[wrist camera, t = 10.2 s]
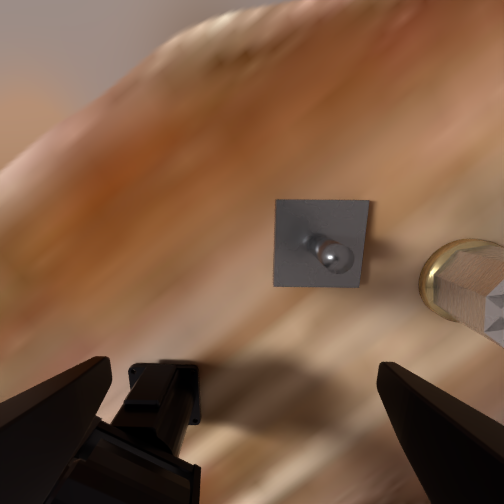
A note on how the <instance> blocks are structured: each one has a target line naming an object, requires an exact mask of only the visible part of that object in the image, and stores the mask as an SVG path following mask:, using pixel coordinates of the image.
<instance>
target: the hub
mask: <svg viewBox="0 0 504 504" xmlns="http://www.w3.org/2000/svg"><path fill="white" fill-rule="evenodd" d="M486 245H492V246H497V247H501V246H500V245H498V244H495V243H492V242H488V241H482V240H477V239H461V240H456V241H453V242H451V243H448V244H446V245H444V246H443V247H441V248H440V249H438V250H437V251H436V252H435V253H434V254H432V256H431V257H430V258H429V259H428V260H427V262H426V263H425V265H424V267H423V269H422V271H421V274H420V278H419V292H420V295H421V298H422V300H423V302H424V303H425V304H426V306H427V307H428V308H429V309H431V310H432V311H434V312H435V313H437V314H438V315H440V316H441V317H443V318H445V319H447V320H450V321H454V322H459V321H457V320H456V319H454V318H453V317H452V316H450V315H449V314H448V313H446V312H445V311H444V310H442V309H441V308H440V307H438V306H437V305H436V304H434V303H433V274H434V273H435V272H436V271H437V270H438V269H439V268H440V267H441V266H442V265H443V264H444V263H445V262H446V261H447V260H448V258H449V257H450V256H451V255H452V254H453V253H454V252H455V251H456V250H460V249H467V248H473V247H480V246H486ZM502 248H503V247H502Z"/></svg>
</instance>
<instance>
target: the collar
mask: <svg viewBox="0 0 504 504" xmlns="http://www.w3.org/2000/svg"><path fill="white" fill-rule="evenodd" d="M433 303H434V304H436V305H437V306H438V307H440V308H441V309H442V310H444V311H445V312H446V313H448V314H449V315H450V316H452V317H453V318H454V319H456V320H457V321H459V322H461V323H462V324H464V325H466V326H467V327H469V328H471V329H472V330H474V331H476V332H477V333H479V334H481V335H482V336H484V337H486V338H487V339H489V340H491V341H492V342H494V343H496V344H497V345H499V346H501V347H502V348H504V248H502V247H497V246H492V245H486V246H480V247H473V248H467V249H460V250H456V251H455V252H454V253H453V254H452V255H451V256H450V257H449V258H448V260H447V261H446V262H445V263H444V264H443V265H442V266H441V267H440V268H439V269H438V270H437V271H436V272H435V273H434V274H433Z"/></svg>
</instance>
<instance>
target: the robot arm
mask: <svg viewBox="0 0 504 504" xmlns="http://www.w3.org/2000/svg"><path fill="white" fill-rule="evenodd" d="M133 369H134V370H136V371H134V370H133ZM192 370H193V371H195V372H192ZM128 374H129V382H130V390H131V391H130V392H129V394H128V395H127V397H126V398H125V400H124V402H123V405H122V406H121V408H120V410H119V411H118V413H117V414H116V416H115V417H114V419H113V420H112V422H111V423H110V424H108V423H106V422H104V421H102V418H100V417H98V416H96V413H97V411H98V409H99V407H100V405H101V403H102V401H103V399H104V397H105V396H106V394H107V392H108V390H109V388H110V386H111V383H112V371H111V364H110V359H109V358H108V357H106V356H95V357H93V358H91V359H89V360H87V361H85V362H83V363H81V364H79V365H76V366H74V367H72V368H70V369H68V370H66V371H64V372H62V373H60V374H58V375H56V376H54V377H52V378H50V379H48V380H46V381H44V382H42V383H40V384H38V385H36V386H34V387H32V388H30V389H28V390H26V391H24V392H22V393H20V394H18V395H16V396H14V397H12V398H10V399H8V400H6V401H4V402H2V403H0V504H199V498H200V478H201V467H200V466H198V465H196V464H194V465H192V464H190V463H188V462H186V461H184V460H182V459H180V458H178V457H179V453H180V450H181V447H182V443H183V440H184V437H185V433H186V430H187V426H188V425H198V424H199V423H200V421H201V403H200V383H199V369H198V367H197V366H195V365H155V364H133V365H132V366H131V367H130V368H129V370H128ZM376 384H377V390H378V393H379V395H380V398H381V400H382V402H383V405H384V407H385V409H386V412H387V414H388V417H389V419H390V421H391V424H392V426H393V429H394V431H395V433H396V436H397V438H398V440H399V442H400V444H401V446H402V448H403V450H404V452H405V454H406V456H407V458H408V460H409V462H410V464H411V466H412V468H413V470H414V472H415V473H416V475H417V477H418V479H419V481H420V483H421V485H422V487H423V489H424V491H425V493H426V494H427V496H428V498H429V500H430V502H431V504H504V426H503V425H502V424H500V423H498V422H496V421H495V420H493V419H491V418H490V417H488V416H486V415H484V414H483V413H481V412H479V411H478V410H476V409H474V408H472V407H471V406H469V405H467V404H465V403H464V402H462V401H460V400H459V399H457V398H455V397H453V396H452V395H450V394H448V393H447V392H445V391H443V390H441V389H440V388H438V387H436V386H434V385H433V384H431V383H429V382H428V381H426V380H424V379H422V378H421V377H419V376H417V375H416V374H414V373H412V372H410V371H409V370H407V369H405V368H403V367H402V366H400V365H398V364H397V363H395V362H381V363H380V364H379V369H378V376H377V383H376Z"/></svg>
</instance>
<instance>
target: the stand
mask: <svg viewBox="0 0 504 504" xmlns="http://www.w3.org/2000/svg"><path fill="white" fill-rule="evenodd" d="M368 208H369V200H275V228H274V261H273V285H274V287H344V288H359V284H360V276H361V267H362V259H363V250H364V242H365V233H366V225H367V216H368Z"/></svg>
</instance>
